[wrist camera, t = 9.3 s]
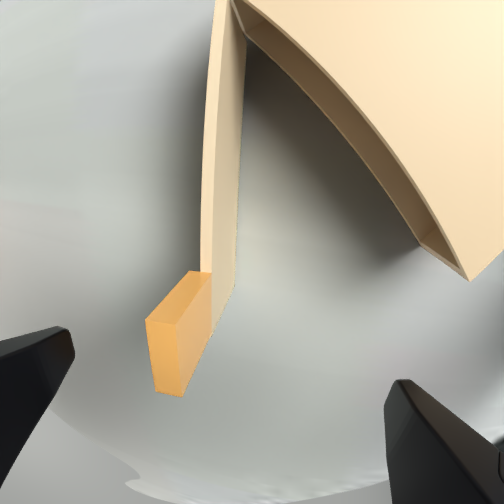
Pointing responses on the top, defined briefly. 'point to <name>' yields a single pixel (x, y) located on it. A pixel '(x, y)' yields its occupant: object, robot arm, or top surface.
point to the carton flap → (207, 219)
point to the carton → (407, 104)
